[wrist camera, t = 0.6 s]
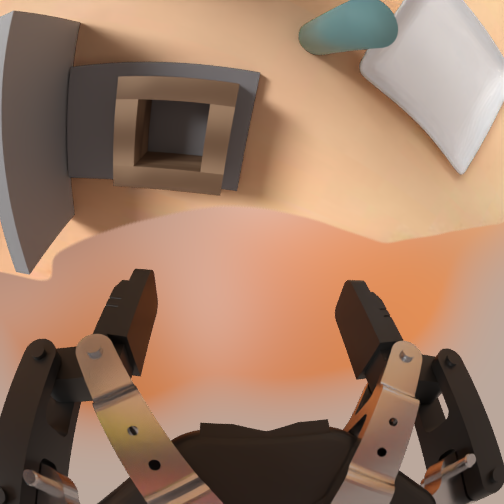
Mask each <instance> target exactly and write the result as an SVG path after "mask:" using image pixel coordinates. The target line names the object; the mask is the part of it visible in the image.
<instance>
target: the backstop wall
mask: <svg viewBox="0 0 504 504" xmlns="http://www.w3.org/2000/svg"><path fill="white" fill-rule="evenodd" d="M79 26H80V22H76V21H72V20H67V19H63V18H58V17H53V16H47V15H41V14H35V13H28V12H20V11H12V12H10V13H8V14H5V15H3V16H1V17H0V220H1V224H2V228H3V232H4V236H5V239H6V242H7V246H8V249H9V252H10V255H11V258H12V261H13V264H14V267H15V270H16V272H20V273H25V274H30V273H31V272H32V270H33V269H34V267H35V266H36V264H37V263H38V262H39V260H40V259H41V257H42V256H43V254H44V253H45V252H46V250H47V249H48V248H49V246H50V245H51V244H52V242H53V241H54V240H55V238H56V237H57V236H58V234H59V233H60V232H61V231H62V229H63V228H64V227H65V226H66V224H67V223H68V222H69V221H70V219H71V218H72V217H73V216H74V215H75V213H74V205H73V196H72V186H71V178H70V177H69V172H68V153H67V110H68V92H69V79H70V70H71V67H73V62H74V55H75V48H76V42H77V36H78V31H79Z"/></svg>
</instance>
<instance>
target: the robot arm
mask: <svg viewBox="0 0 504 504" xmlns="http://www.w3.org/2000/svg"><path fill="white" fill-rule="evenodd" d="M157 307H158V300H157V293H156V285H155V277H154V272H153V270H146V269H135V270H134V271H133V273H132V275H131V278H130V280H129V281H128V280H122V281H121V282H120V283H119V284H118V285H117V286H115V287H114V289H113V291H112V293H111V295H110V299H108V301H107V304H106V306H105V308H104V310H103V312H102V314H101V317H100V319H99V321H98V323H97V325H96V328H95V330H94V333H93V334H91V335H88V336H86V337H84V338H83V339H82V340H81V341H80V342H79V343H78V345H77V346H76V347H69V348H60V349H59V348H58V349H56V348H55V346H54V344H53V343H52V342H51V341H49V340H47V339H38V340H35V341H33V342H32V343H31V344H30V345H29V346H28V347H27V348H26V350H25V352H24V354H23V357H22V359H21V362H20V364H19V366H18V368H17V371H16V373H15V376H14V379H13V381H12V384H11V386H10V389H9V392H8V395H7V398H6V401H5V404H4V407H3V410H2V413H1V416H0V504H80V502H79V497H78V490H77V488H76V486H75V484H74V483H73V481H72V480H71V479H69V478H68V470H69V462H70V455H71V449H72V443H73V437H74V432H75V427H76V422H77V418H78V413H79V409H80V404H81V402H82V401H93V402H94V403H93V407H94V410H95V412H96V414H97V417H98V419H99V421H100V423H101V425H102V427H103V429H104V431H105V433H106V435H107V437H108V439H109V441H110V443H111V445H112V447H113V449H114V450H115V452H116V454H117V456H118V458H119V459H120V461H121V463H122V465H123V466H124V468H125V470H126V471H127V473H128V474H129V476H130V477H129V478H128V479H127V480H126V481H125V482H123V483H122V484H121V485H120V486H119V487H118V488H117V489H115V490H114V491H113V492H111V493H110V494H109V495H108V496H106V497H105V498H104V499H103V500H101V501H100V502H99V503H98V504H470V503H473V502H475V501H478V500H480V499H482V498H484V497H487V496H489V495H491V494H493V493H495V492H497V491H498V490H499V489H500V488H501V487H502V485H503V483H504V463H503V460H502V457H501V453H500V450H499V447H498V444H497V441H496V438H495V435H494V432H493V429H492V427H491V424H490V421H489V419H488V416H487V414H486V411H485V409H484V406H483V404H482V402H481V399H480V397H479V395H478V392H477V390H476V388H475V386H474V384H473V381H472V379H471V377H470V375H469V373H468V371H467V369H466V367H465V365H464V363H463V361H462V359H461V357H460V356H459V355H458V354H457V353H456V352H455V351H453V350H451V349H442V350H441V351H440V352H439V353H438V355H437V356H436V357H433V356H428V355H422V354H421V352H420V350H419V349H418V348H417V347H416V346H415V345H414V344H412V343H410V342H407V341H403V339H402V337H401V335H400V333H399V331H398V329H397V327H396V325H395V323H394V322H393V320H392V318H391V317H390V314H389V313H388V311H387V310H386V307H385V305H384V303H383V302H382V300H381V299H380V298H379V297H378V296H376V294H375V293H373V292H370V290H369V289H368V287H367V285H366V283H365V282H364V281H360V280H347V281H346V282H345V284H344V286H343V289H342V292H341V295H340V297H339V300H338V303H337V306H336V309H335V318H336V322H337V325H338V328H339V330H340V333H341V336H342V339H343V342H344V344H345V347H346V350H347V353H348V356H349V359H350V362H351V365H352V368H353V371H354V374H355V377H356V379H364V378H366V379H367V381H368V383H367V384H366V386H365V387H364V390H363V392H362V394H361V397H360V399H359V401H358V404H357V406H356V408H355V410H354V412H353V414H352V416H351V418H350V420H349V422H348V423H347V425H346V426H345V427H344V429H343V430H341V429H338V428H333V427H329V423H328V420H327V419H326V420H317V421H308V422H298V423H295V424H292V425H288V426H285V427H282V428H278V429H275V430H271V431H261V430H256V429H252V428H247V427H243V426H238V425H234V424H213V423H212V424H211V423H200V430H197V431H192V432H189V433H185V434H183V435H180V436H178V437H176V438H174V439H173V440H170V439H169V437H168V436H167V435H166V433H165V432H164V430H163V429H162V427H161V426H160V425H159V423H158V421H157V420H156V418H155V417H154V415H153V414H152V412H151V410H150V409H149V407H148V406H147V404H146V402H145V401H144V399H143V397H142V396H141V394H140V392H139V391H138V389H137V387H136V386H135V385H134V384H133V382H132V380H131V377H132V375H135V376H141V372H142V368H143V364H144V359H145V356H146V352H147V348H148V344H149V340H150V336H151V332H152V328H153V325H154V321H155V317H156V314H157ZM441 393H442V394H443V396H444V399H445V402H446V404H447V407H448V410H449V414H448V418H447V419H445V416H444V413H443V410H442V408H441V405H440V402H439V400H438V396H439V395H440V394H441ZM414 424H415V428H416V431H417V435H418V438H419V442H420V445H421V449H422V453H423V457H424V461H425V465H426V469H427V471H426V473H425V476H424V479H423V480H422V481H421V483H420V484H421V485H419V484H417V483H416V482H414V481H413V480H412V479H410V478H409V477H407V476H406V475H405V474H403V473H402V472H401V471H399V468H400V466H401V463H402V460H403V458H404V455H405V452H406V449H407V446H408V443H409V440H410V437H411V433H412V430H413V426H414Z"/></svg>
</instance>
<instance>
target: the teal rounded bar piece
mask: <svg viewBox="0 0 504 504" xmlns="http://www.w3.org/2000/svg"><path fill="white" fill-rule="evenodd" d="M397 35H398V24H397V20H396V18H395V16H394V14H393V12H392V11H391V10H390V9H389V8H388V7H387V6H386V5H385V4H384V3H383V2H381V1H380V0H350V1H348V2H346V3H343V4H341V5H339V6H337V7H335V8H334V9H332V10H330V11H328V12H326V13H324V14H322V15H320V16H319V17H317V18H315V19H313V20H311V21H310V22H308V23H306V24H305V25H303V26H302V27H301V29H300V31H299V41H300V44H301V45H302V47H303V48H304V49H305V50H306V51H308V52H310V53H312V54H315V55H325V54H331V53H338V52H346V51H354V50H363V49H375V48H385V47H388V46H390V45H391V44H392V43H393V42H394V41H395V40H396V38H397Z"/></svg>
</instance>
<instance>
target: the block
mask: <svg viewBox="0 0 504 504" xmlns="http://www.w3.org/2000/svg"><path fill="white" fill-rule="evenodd" d="M239 85H240V84H238V83H232V82H224V81H216V80H207V79H197V78H185V77H167V76H122V77H118V85H117V94H116V106H115V120H114V141H113V186H124V187H138V188H150V189H162V190H173V191H183V192H193V193H203V194H211V195H220V193H221V187H222V181H223V174H224V168H225V162H226V156H227V150H228V144H229V139H230V133H231V127H232V122H233V116H234V111H235V106H236V101H237V95H238V90H239ZM152 100H170V101H185V102H196V103H206V104H210V109H209V115H208V122H207V128H206V135H205V141H204V149H203V156H197V155H187V154H177V153H164V152H150V151H148V137H149V125H150V114H151V105H152Z"/></svg>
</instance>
